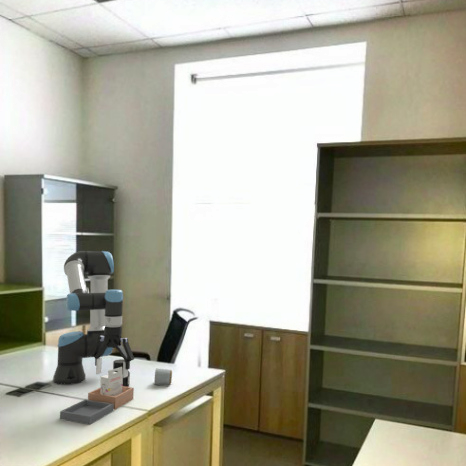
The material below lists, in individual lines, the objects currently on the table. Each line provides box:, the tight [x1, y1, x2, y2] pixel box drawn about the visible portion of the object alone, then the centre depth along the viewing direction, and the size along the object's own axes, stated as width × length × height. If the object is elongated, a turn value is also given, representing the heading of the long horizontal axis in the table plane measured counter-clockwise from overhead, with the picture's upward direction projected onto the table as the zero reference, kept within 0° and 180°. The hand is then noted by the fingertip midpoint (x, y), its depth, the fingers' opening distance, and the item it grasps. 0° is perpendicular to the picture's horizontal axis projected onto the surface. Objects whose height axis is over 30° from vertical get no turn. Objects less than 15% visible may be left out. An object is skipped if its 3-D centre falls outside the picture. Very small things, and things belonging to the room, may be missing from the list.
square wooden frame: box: [87, 386, 135, 410], centre depth 194 cm, size 14×14×5 cm
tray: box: [59, 399, 114, 425], centre depth 179 cm, size 14×15×3 cm
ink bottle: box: [112, 358, 131, 387], centre depth 216 cm, size 10×9×12 cm
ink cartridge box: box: [100, 367, 123, 396], centre depth 194 cm, size 9×5×15 cm, turn 148°
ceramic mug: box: [154, 368, 173, 386], centre depth 222 cm, size 11×8×8 cm
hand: (112, 375), depth 194 cm, fingers open, 13 cm apart
